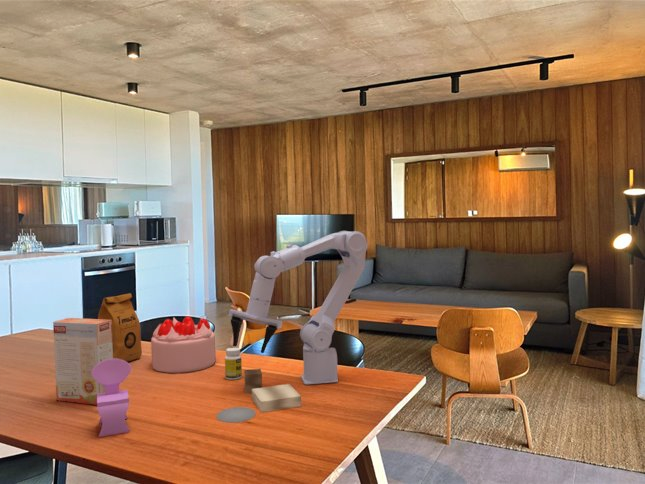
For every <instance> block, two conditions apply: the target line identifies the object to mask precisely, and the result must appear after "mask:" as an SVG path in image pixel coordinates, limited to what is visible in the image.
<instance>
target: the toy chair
mask: <svg viewBox="0 0 645 484" xmlns="http://www.w3.org/2000/svg"><path fill="white" fill-rule="evenodd" d="M131 371H132V366H131V364H130V363H129V361H128V362H126V361H124V360H121V359H107V360H104V361H102V362H100V363H98V364H97V365H96V366H95V367H94V368H93V369H92V372H91V374H92V377H93V378H94V379H95V380H96V381H97V382H98V383H99V384H102V385H104V386H105V393H99V394H97V405H96V408H97V413H98V415H99V416H100V419H99V421H98V424H99V425H100V424H101V429H100V432H99V435H98V438H102V437H108V436H114V435H119V434H125V433H130V428H129V426H128V425H127V421H126V420H128V419H129V417H128V416H127V413H128V411H129V410H128V409H129V407H130V401H129V400H130V399H129V398H130V397H129V393H128V392H129V391H128V389H122V390H120V384H121V383H123V382H124V381H126V380H127V378H128V377H129V375H130V373H131ZM125 419H126V420H125Z"/></svg>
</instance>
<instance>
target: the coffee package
mask: <svg viewBox="0 0 645 484" xmlns="http://www.w3.org/2000/svg"><path fill="white" fill-rule="evenodd" d="M132 298H133V296H132V293H130V292H129V293H125V294H120V295H116V296H114V295H113V296H108V297H104V298H103V299H102V303H101V306H100V308H99V311H98V316H97V319H103V320H111V322H112V347H113V359H121V360H124V361H126V362H128V363H129V362H131V361H134V360H137V359H140V358H141V357H142V354H143V352H142V350H143V349H142V338H141V337H142V336H141V335H142V333H141V331H142V330H141V324H140V320H139V318H138V314H137V313H136V311H135V309H134V306H133V302H132V301H131V299H132Z"/></svg>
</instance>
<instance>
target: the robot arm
mask: <svg viewBox="0 0 645 484" xmlns="http://www.w3.org/2000/svg"><path fill="white" fill-rule="evenodd" d="M285 247H286V248H283V249H281V250H278V251H271V252H270V255H262V256H260V257H258V259H257V260H256V262H255V263H254V271H255V274H254V280H253V281H252V286H251V290H250V294H249V299H248V303H247V308H246V311H242V310H237V309H232V308H231V309H229V311H228V317H227V318H231V319H230V324H231V329H232V337H233V338H232V340H233V343H232V346H233V347H237V346H238V343H239V338H240V332H241V328H242V324H243V322H244V321H246V322H247V321H248V322H251V323H255V324H260V325H262V326H263V325H264V326H267V327H266V328H265V332H264V338H263V343H262V345H261V350H260V353H261V354H264V353H265V351H266V348H267V346H268V344H269V342H270V340H271V339H272V337H273V335H274V334H275V333H276V331H277V330H278V329H282V327H283V321H282V320H279V319H276V318H271V317H270V316H269V317H268V315H269V310H270V305H271V301H272V296H273V292H274V288H275V283H276V278H277V277H278V276H280V274H281V273H283V272H285V271H288V270H291V269H293V268H296V267H299V266H301V265H303V263H304V261H305V259H306V258H308V257H312V256H314V255H317V254H320V253H323V252H325V251H327V250H332V249H333V250H336V251H337V252H338V253H339V255H340V257H341V258H342V262H343V264H344V267H343V268H342V270H341V271H340V273H339V274H338V277H337V279H336V280H335V282H334V284H333V286H332V287H331V288H330V290H329V293H328V294H327V296H326V298H325V299H324V301H323V303H322V305H321V306H320V308H319V310H318V311H317V312H316V314H313V315H312V316H311V317H310V320H308V322H306V323H305V324H304V325H303V326H302V327H301V328H300V331H299V332H300V333H299V337H300V339H301V341H302V342H303V347H302V358H303V360H302V361H303V364H302V365H303V374H300V378H301V380H302V382H303V384H304V385H317V384H328V383H329V384H330V383H331V384H332V383H338V382H339V379H338V355H337V354H338V353H337V349H336V348H335V347H330V346H331V344H332V339H333V338H332V337H333V334H334V332H335V329H336V328H335V321H336V320H337V317H338V316H339V314H340V312H341V311H342V309H343V307H344V305H345V303H346V301H347V300H348V298H349V297H350V294H352V291H353V289H354V287H355V286H356V284H357V282H358V280H359V278H360V277H361V275H362V273H363V272H364V270H365V266H366V265H365V263H366V253H367V252H366V251H367V250H368V248H369V245H368V242H367V238H366V236H365V234H363V233H362V232H360V231H357V230H354V231H348V230H340V231H338V232H334V233H330V234H328V235H325V236H322V237H321V238H318V239H317V240H314V241H312V242H310V243H307V244H305V245H303V246H298V245H296V244H294V245H293V244H288V245H287V244H286V245H285Z"/></svg>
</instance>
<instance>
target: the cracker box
mask: <svg viewBox="0 0 645 484" xmlns="http://www.w3.org/2000/svg"><path fill="white" fill-rule="evenodd" d="M52 323H53V324H52V325H53V327H52V328H53V341H54V342H53V345H54V347H53V348H54V350H53V351H54V369H55V370H54V371H55V395H56V398H55V399H56V401H57V400H58V401H59V402H66V401H67V402H68V403H75V402H76V403H77V404H84V405H94V406H97V394H99V393H105V386H104V385H102V384H99V383H98V382H97V381H96V380H95V379H94V378H93V377H92V374H91V372H92V369H93V368H94V367H95V366H96V365H97V364H98V363H100V362H102V361H104V360H107V359H113V347H112V322H111V320H103V319H98V318H81V317H80V318H79V317H78V318H77V317H76V318H75V317H66V318H63V319H58V320H55V321H53V322H52Z"/></svg>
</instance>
